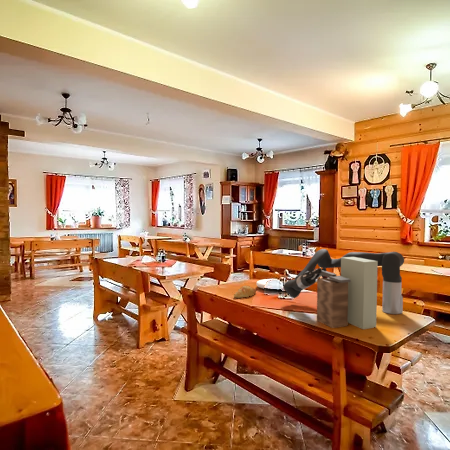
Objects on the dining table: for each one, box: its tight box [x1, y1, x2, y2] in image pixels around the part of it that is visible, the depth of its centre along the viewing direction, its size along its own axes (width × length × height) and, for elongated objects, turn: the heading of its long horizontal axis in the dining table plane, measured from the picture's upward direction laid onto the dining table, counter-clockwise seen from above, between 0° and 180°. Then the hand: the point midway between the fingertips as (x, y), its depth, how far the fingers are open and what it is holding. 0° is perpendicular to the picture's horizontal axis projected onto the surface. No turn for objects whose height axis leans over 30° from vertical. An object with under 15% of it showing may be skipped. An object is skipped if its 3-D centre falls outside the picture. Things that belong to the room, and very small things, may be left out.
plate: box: [256, 278, 273, 289], centre depth 240 cm, size 28×6×27 cm
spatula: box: [315, 268, 351, 283], centre depth 166 cm, size 22×6×2 cm, turn 21°
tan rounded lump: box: [233, 285, 257, 299], centre depth 218 cm, size 21×10×8 cm, turn 135°
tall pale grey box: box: [340, 256, 379, 330], centre depth 165 cm, size 16×8×32 cm, turn 21°
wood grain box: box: [316, 277, 349, 329], centre depth 165 cm, size 12×9×22 cm
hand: (323, 269), depth 171 cm, fingers closed on spatula, 2 cm apart
